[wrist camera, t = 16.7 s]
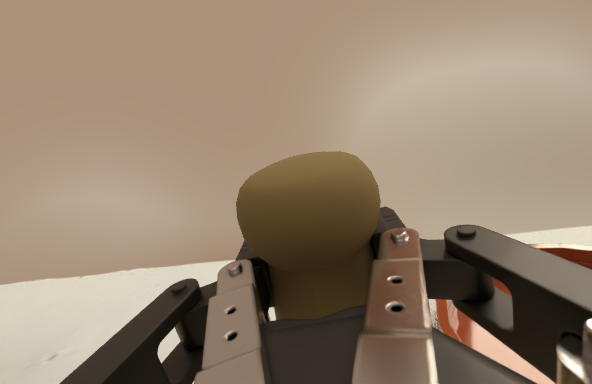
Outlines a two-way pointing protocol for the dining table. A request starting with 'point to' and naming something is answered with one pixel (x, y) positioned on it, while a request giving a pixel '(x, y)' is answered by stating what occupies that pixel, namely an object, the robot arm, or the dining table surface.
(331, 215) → the brown game pawn
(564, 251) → the dish
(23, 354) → the dining table surface
